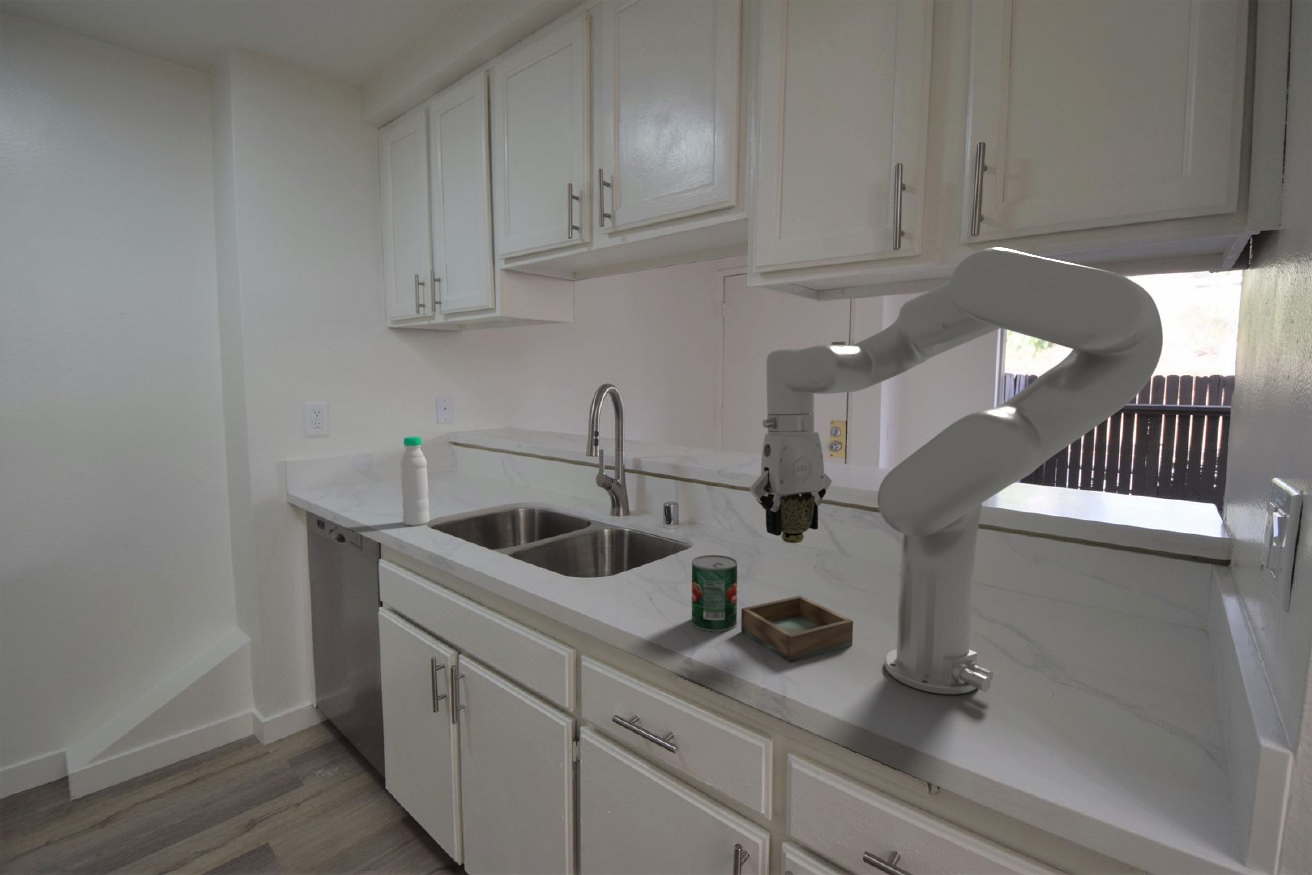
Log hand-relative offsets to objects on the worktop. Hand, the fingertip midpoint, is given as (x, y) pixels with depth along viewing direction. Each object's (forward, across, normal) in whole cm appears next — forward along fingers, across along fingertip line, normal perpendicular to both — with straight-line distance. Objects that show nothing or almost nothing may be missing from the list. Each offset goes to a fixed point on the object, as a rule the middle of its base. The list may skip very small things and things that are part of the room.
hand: (792, 530), depth 104 cm
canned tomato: (+17, -11, +8) cm, 22 cm away
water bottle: (+12, -51, +107) cm, 119 cm away
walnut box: (+17, -2, -3) cm, 18 cm away
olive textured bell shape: (+2, 0, 0) cm, 2 cm away
